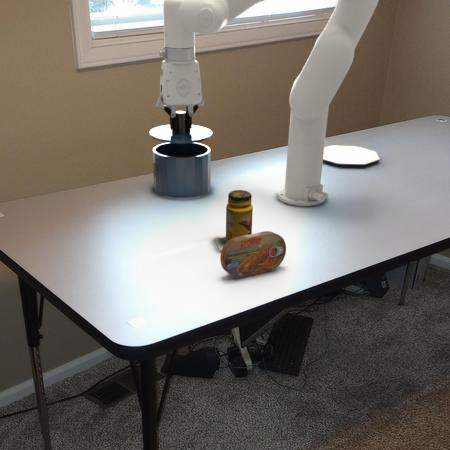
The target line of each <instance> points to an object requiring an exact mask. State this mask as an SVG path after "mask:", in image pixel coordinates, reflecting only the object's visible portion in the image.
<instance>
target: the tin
mask: <svg viewBox="0 0 450 450" xmlns="http://www.w3.org/2000/svg"><path fill="white" fill-rule="evenodd" d="M286 253H287V245H286V241H285V239H284V238H283V236H281V234H279V233H276V232H273V231H271V230H269V231H268V230H265V231H260V232H254V233H252V234H250V235H245V236H240V237H235V238H233V239H231V240H229V241H228V242H227V243H226V244H225V245H224V247H223V249H222V251H220V255H219V256H220V258H219V259H220V265H221V268H222V269H223V270H224V271H225V272H226V273H227V274H228V275H229V276H230V277H231V278H232V277H233V278H235V279H242V278H246V277H251V276H254V275H255V276H256V275H259V274H264V273H268V272H272V271H274V270H275V269H277V268H278V267H279V266H280V265H281V264H282V262H283V261H284V259H285V257H286Z"/></svg>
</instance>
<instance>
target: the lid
mask: <svg viewBox="0 0 450 450" xmlns="http://www.w3.org/2000/svg"><path fill="white" fill-rule="evenodd" d="M176 118H177V119H178V133H177V134H174V133H173V132H172V130H171V129H170V124H163V125H158V126H156V127H153V128H151V129H150V130H149V133H148V135H149V137H150V138H151V139H153V140H155V141H158V142H162V143H178V144H185V143H201V142H204V141H207V140H210V139H211V138H212V137H213V130H211V129H210V128H207V127H205V126H201V125H197V124H192V128H191V129H190V133H187V132H186V110H185V111H184V110H176Z"/></svg>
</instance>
